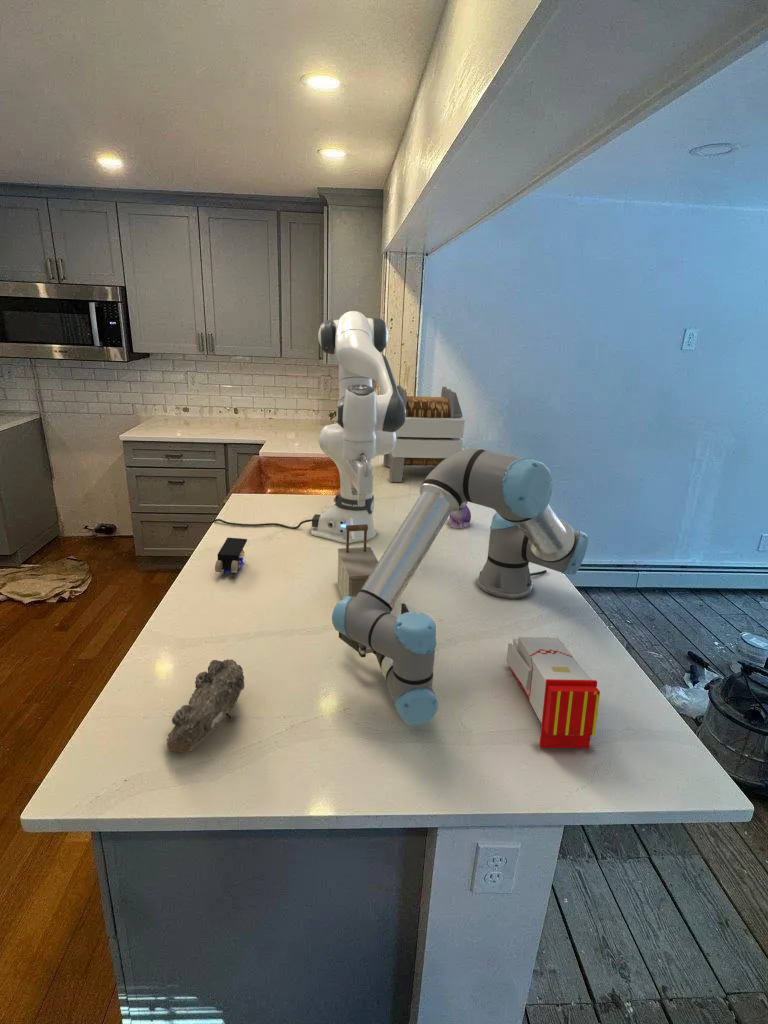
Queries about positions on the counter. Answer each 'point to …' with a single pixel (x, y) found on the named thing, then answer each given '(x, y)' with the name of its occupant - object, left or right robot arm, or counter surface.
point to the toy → (555, 691)
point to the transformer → (426, 432)
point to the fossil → (206, 705)
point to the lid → (357, 556)
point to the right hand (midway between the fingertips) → (375, 610)
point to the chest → (348, 582)
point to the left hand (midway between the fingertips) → (357, 499)
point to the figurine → (460, 517)
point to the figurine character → (230, 556)
